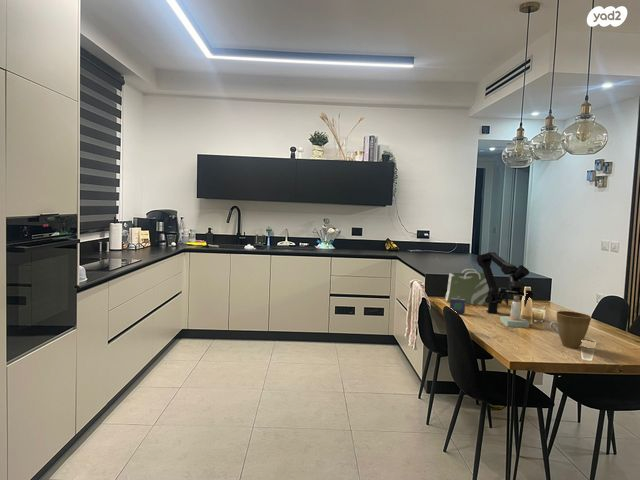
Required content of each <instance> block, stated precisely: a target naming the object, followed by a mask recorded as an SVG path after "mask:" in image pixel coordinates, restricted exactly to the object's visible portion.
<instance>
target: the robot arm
mask: <svg viewBox="0 0 640 480" xmlns="http://www.w3.org/2000/svg"><path fill="white" fill-rule="evenodd" d="M476 262H477V264H478V266H479V267H480V268H481V269H482V271H483V272H482V273H484V275H485V278H486V281H487V284H488V287H489V291H488V296H487V297H486V299H485V302H486V303H488V306H487V309H486V310H485V311H486V312H487V313H488V314H495V315H496V314H498V315H499V314H500V312H498V311H499V305H500V304H502V302H503V301H504V303H505V304H506V306H509V300H508V295H513V296H519V297H520V296H521V297H524V292H525V291H526V293H528V294H526V296H525V300H523V306H524V307H523V308H526V306H527V304H528V303H527V302H528V301H529V300H528V298H529V297H530V298H531V300H533V297H534V294H535V293H534V291H533V290H531V289H526V290H525V291H522V290H523V289H522V288H525V287H526V281H525V280H523V279H525V277H527V276H528V275H529V274H530V271H529V269H528V268H527V267H525V266H524V265H521V264H520V265H519V266H518V267H517V266H516V265H515V264H513V263H510V262H507V261H506V260H505V259H503V257H501V256H499V255H498V254H497V253H496V252H494V251H492V252H491V251H489V252H487V253H483V254H478V255H477V256H476ZM492 262H493V263H495V265H497V266H498V267H500V271H501V272H502V273H503V274H504V275H509V276H508V277H507V278H506V281H507V282H508V281H509V284H508V285H509V290H507V288H506V287H498V285H497V283H496V280H495V277H494V273H493V271H492V267H491V265H492ZM527 300H528V301H527Z"/></svg>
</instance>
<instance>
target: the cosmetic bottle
mask: <svg viewBox="0 0 640 480" xmlns="http://www.w3.org/2000/svg"><path fill="white" fill-rule="evenodd" d="M510 302H511V303H510V314H509V316H510V318H511V319H515V320H519V319H520V317H521V305H522V301H520V296H518V295H513V300H511V301H510Z"/></svg>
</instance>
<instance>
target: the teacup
mask: <svg viewBox="0 0 640 480" xmlns="http://www.w3.org/2000/svg"><path fill="white" fill-rule="evenodd" d="M553 325H555V326H556V329H555V328H554V327H553ZM549 327H550V329H551V330H552V331H554V332H555V333H556V334H557V336H559V337H560V335H559V330H558V324H557V321H551V322H550V324H549Z"/></svg>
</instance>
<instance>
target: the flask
mask: <svg viewBox="0 0 640 480" xmlns="http://www.w3.org/2000/svg"><path fill="white" fill-rule="evenodd" d="M465 301H466V300H465V299H460V298H459V296H458V297H457V298H456V299H454V298H451V299H450V302H449V309H450V308H452V309H453V310H454V311H456V312H457V313H458V314H459V315H464V314H466V313H465V312H466V311H465V310H466V304H465ZM458 314H457V315H458Z"/></svg>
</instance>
